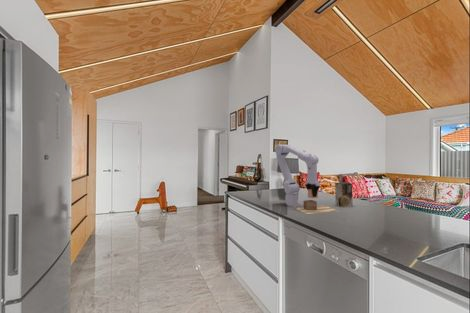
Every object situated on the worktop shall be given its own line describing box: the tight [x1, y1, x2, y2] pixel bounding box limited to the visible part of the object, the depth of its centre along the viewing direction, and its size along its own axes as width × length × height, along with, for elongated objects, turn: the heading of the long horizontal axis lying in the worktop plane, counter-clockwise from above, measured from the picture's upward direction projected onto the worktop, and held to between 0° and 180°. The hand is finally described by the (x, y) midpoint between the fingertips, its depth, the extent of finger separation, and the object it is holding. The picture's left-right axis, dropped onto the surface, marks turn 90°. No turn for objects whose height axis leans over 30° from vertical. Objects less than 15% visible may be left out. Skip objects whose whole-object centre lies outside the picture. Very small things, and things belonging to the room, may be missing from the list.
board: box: [293, 205, 340, 215], centre depth 155 cm, size 18×22×1 cm
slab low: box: [303, 204, 318, 210], centre depth 156 cm, size 6×6×2 cm
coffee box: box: [334, 182, 353, 208], centre depth 162 cm, size 9×6×16 cm
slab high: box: [303, 199, 318, 206], centre depth 156 cm, size 6×6×2 cm
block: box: [307, 189, 319, 199], centre depth 155 cm, size 4×4×5 cm
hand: (312, 196), depth 155 cm, fingers closed on block, 4 cm apart
